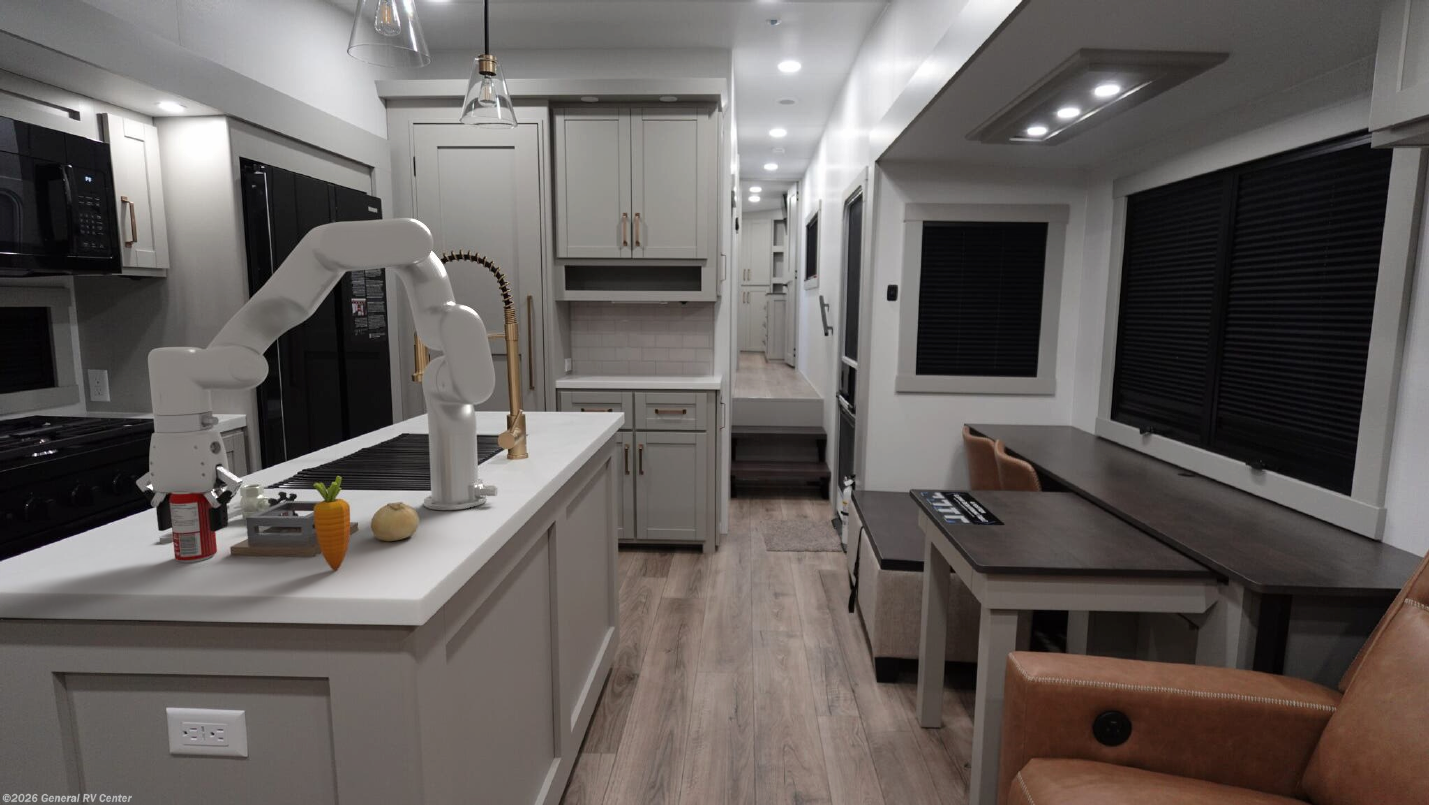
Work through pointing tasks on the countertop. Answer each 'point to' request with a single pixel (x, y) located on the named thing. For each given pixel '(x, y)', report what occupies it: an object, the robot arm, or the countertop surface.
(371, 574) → the countertop surface
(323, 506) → the carrot
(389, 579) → the countertop surface
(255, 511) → the valve
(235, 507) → the adjustable wrench
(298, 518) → the collar stand
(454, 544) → the countertop surface
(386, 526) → the onion
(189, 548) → the soda can
